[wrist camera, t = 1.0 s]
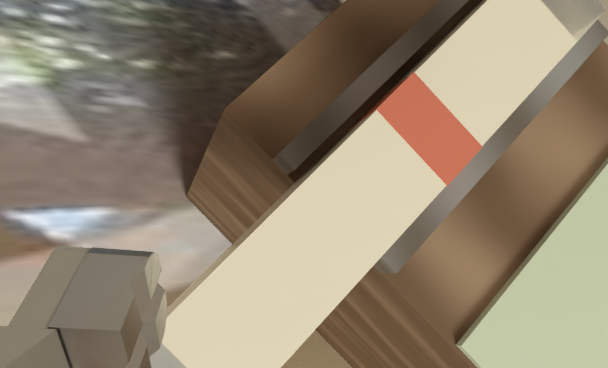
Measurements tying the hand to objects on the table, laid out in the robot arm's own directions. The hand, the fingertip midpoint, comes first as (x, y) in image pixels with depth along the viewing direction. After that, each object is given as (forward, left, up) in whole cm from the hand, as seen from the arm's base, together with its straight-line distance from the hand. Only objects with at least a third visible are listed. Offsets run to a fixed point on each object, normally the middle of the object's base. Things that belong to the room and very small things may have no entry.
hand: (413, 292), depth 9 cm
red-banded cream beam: (-4, +4, -12) cm, 13 cm away
